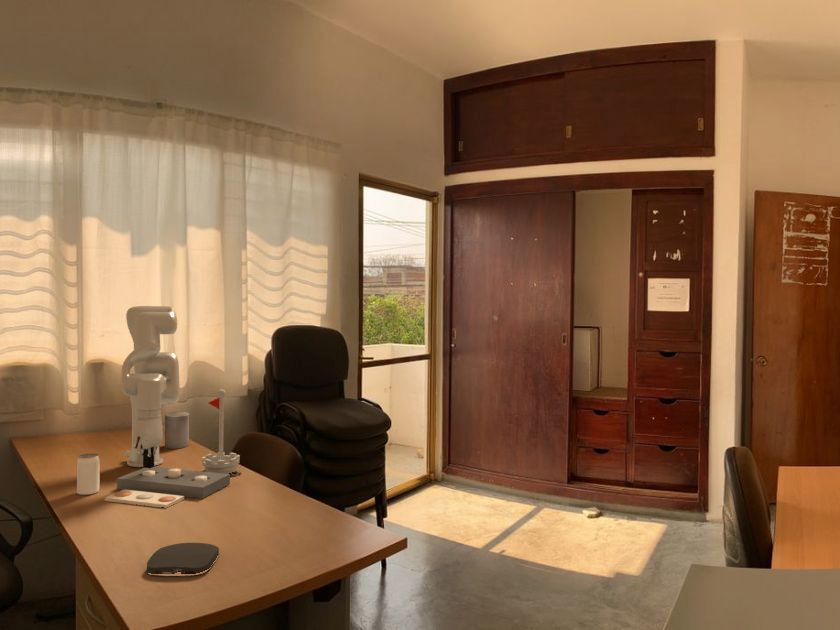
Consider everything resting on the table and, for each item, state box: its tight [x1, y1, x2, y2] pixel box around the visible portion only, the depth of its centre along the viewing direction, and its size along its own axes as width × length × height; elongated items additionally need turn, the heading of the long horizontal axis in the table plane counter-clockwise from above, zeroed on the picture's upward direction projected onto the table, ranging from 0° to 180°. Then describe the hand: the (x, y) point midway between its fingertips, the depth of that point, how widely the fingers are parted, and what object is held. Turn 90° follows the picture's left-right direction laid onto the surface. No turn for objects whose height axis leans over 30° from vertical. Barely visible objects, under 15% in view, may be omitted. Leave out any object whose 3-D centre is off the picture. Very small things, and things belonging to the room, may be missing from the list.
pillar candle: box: [164, 411, 190, 449], centre depth 276 cm, size 10×10×15 cm
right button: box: [194, 476, 207, 482], centre depth 216 cm, size 4×4×3 cm
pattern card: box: [104, 489, 185, 509], centre depth 205 cm, size 22×9×1 cm, turn 75°
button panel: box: [116, 466, 231, 499], centre depth 219 cm, size 32×16×4 cm, turn 75°
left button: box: [142, 470, 155, 476], centre depth 221 cm, size 4×4×3 cm
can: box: [76, 452, 100, 496], centre depth 211 cm, size 6×6×12 cm
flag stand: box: [201, 388, 241, 474], centre depth 239 cm, size 13×13×30 cm
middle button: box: [168, 468, 182, 479], centre depth 219 cm, size 4×4×3 cm
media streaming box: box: [146, 542, 220, 574], centre depth 158 cm, size 15×15×3 cm
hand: (148, 467), depth 222 cm, fingers closed
